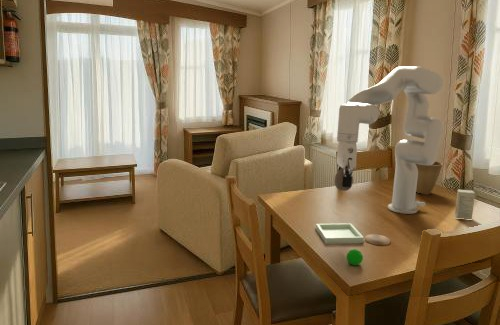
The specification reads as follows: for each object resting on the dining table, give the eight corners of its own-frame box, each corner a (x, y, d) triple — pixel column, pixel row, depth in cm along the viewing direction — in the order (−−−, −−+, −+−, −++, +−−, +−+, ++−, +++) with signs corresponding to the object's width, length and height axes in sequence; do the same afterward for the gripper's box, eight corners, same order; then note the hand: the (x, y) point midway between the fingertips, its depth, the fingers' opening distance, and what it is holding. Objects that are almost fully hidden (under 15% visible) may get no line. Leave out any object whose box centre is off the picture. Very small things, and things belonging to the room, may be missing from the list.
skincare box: (470, 217, 177) (474, 190, 174) (471, 221, 173) (476, 193, 170) (453, 215, 179) (457, 188, 176) (454, 219, 175) (458, 191, 172)
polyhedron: (364, 267, 130) (365, 253, 129) (349, 268, 129) (350, 254, 128) (358, 260, 135) (359, 246, 134) (344, 260, 134) (345, 247, 133)
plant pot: (443, 197, 205) (447, 165, 202) (413, 196, 205) (417, 165, 202) (431, 188, 220) (434, 159, 216) (403, 187, 220) (406, 158, 216)
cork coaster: (384, 235, 156) (384, 234, 156) (394, 245, 147) (394, 244, 147) (361, 235, 155) (361, 234, 155) (370, 245, 146) (370, 244, 146)
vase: (352, 192, 153) (354, 169, 151) (333, 190, 155) (335, 168, 153) (352, 187, 160) (354, 165, 158) (334, 186, 161) (335, 164, 160)
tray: (350, 228, 162) (351, 223, 161) (363, 242, 148) (363, 237, 148) (315, 228, 161) (316, 223, 160) (325, 243, 147) (325, 238, 147)
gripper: (365, 141, 145) (360, 190, 149) (350, 134, 162) (346, 178, 166) (344, 141, 144) (340, 190, 148) (331, 133, 161) (328, 178, 165)
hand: (343, 183), depth 157 cm, fingers closed on vase, 6 cm apart
